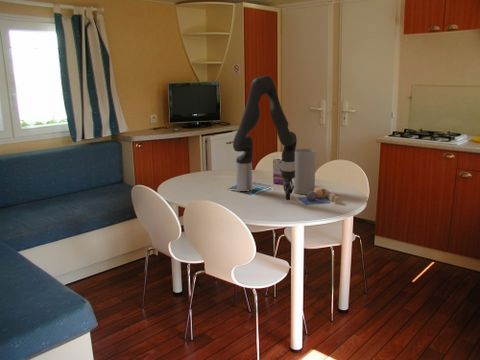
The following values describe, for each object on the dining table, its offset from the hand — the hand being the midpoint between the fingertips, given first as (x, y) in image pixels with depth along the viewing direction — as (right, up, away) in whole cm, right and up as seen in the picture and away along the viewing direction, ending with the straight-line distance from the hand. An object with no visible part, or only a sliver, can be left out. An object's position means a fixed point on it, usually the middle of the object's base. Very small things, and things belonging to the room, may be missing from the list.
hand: (287, 199), depth 251 cm
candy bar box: (+1, +9, +41) cm, 42 cm away
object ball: (+18, +3, +6) cm, 19 cm away
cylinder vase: (+12, +4, +21) cm, 24 cm away
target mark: (+15, 0, +3) cm, 15 cm away
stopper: (+24, 0, +5) cm, 25 cm away
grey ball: (+13, +2, +2) cm, 13 cm away
